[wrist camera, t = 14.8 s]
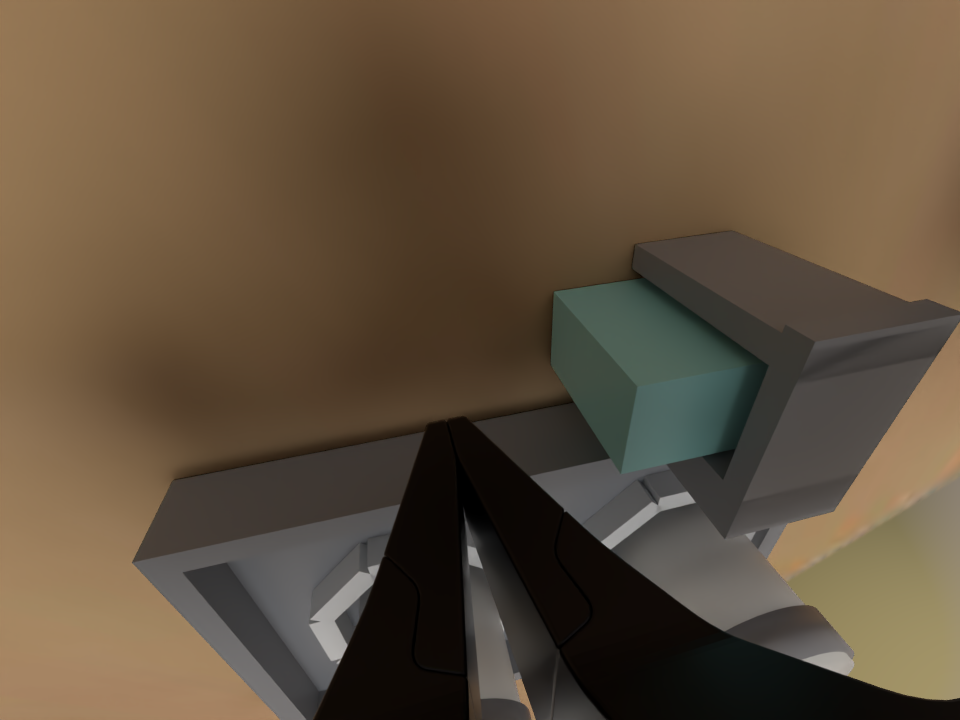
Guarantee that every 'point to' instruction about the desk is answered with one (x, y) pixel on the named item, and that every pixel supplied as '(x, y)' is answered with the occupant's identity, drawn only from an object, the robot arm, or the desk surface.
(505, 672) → the white domed cylinder
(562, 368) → the bar
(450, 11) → the desk surface
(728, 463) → the tray
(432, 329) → the desk surface
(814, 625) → the grey lidded container
